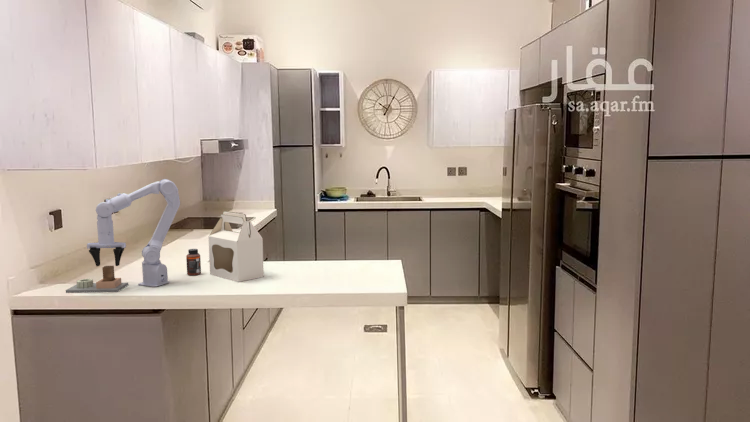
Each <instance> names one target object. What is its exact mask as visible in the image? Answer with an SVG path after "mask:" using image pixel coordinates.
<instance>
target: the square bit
mask: <svg viewBox="0 0 750 422" xmlns="http://www.w3.org/2000/svg"><path fill="white" fill-rule="evenodd" d="M101 268H102V279H103V281H114V280H115V278H116V276H115V266H114V265H104V266H103V267H101Z"/></svg>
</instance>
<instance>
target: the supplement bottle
mask: <svg viewBox="0 0 750 422" xmlns="http://www.w3.org/2000/svg"><path fill="white" fill-rule="evenodd" d="M187 251H188V253H187V255H186V256H185V257H186V259H185V261H186V274H187V275H188V276H193V277H194V276H198V275H201V274H202V267H201V265H202V264H201V254H200V253H199V252H198V251H199V250H198V248H190V249H188V250H187Z"/></svg>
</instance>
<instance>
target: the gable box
mask: <svg viewBox="0 0 750 422" xmlns="http://www.w3.org/2000/svg"><path fill="white" fill-rule="evenodd" d="M230 223H231V224H239V225H241V228H240V232H239V231H238V232H237V231H234V230H233V229H232V227H231V224H230ZM263 239H264V238H263V237H262V235H261V234H260V232H259V231H258V230H257V228H256V227H255V226H254V224H253V223H252V222H251V221H249V220H247V214H245V213H238V212H233V211H227V210H225V211H223V214H222V213H221V214H220V218H219V219H218V221H217V223H216V224H215V225H214V227H213V229H212V230H211V232H210V233H209V235H208V253H209V254H208V255H209V256H208V257H209V258H208V259H209V260H208V261H209V275H210V276H215V277H219V278H222V279H226V280H229V281H232V282H233V281H234V282H236V283H242V282H246V281H249V280H255V279H258V278H259V277H260V278H263V277H264V276H265V275H264V246H263V245H264V243H263V242H264V241H263ZM260 278H259V279H260Z"/></svg>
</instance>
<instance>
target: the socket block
mask: <svg viewBox="0 0 750 422" xmlns="http://www.w3.org/2000/svg"><path fill="white" fill-rule="evenodd" d="M127 285H128V286H129V282H122V277H115V280H114V281H103V278H101V279H99V280H97V281H95V282H94V279H93V278H80V279H78V280H76V284H74V285H73V286H71V287H70V288H67V289H66V290H65V293H66V294H67V293H71V294H72V293H75V294H76V293H77V294H78V293H119V292H120V291H122V290H123V289H124V288H126V287H128V286H127ZM125 286H126V287H125ZM123 287H124V288H123ZM122 288H123V289H122ZM119 290H120V291H119Z"/></svg>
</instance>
